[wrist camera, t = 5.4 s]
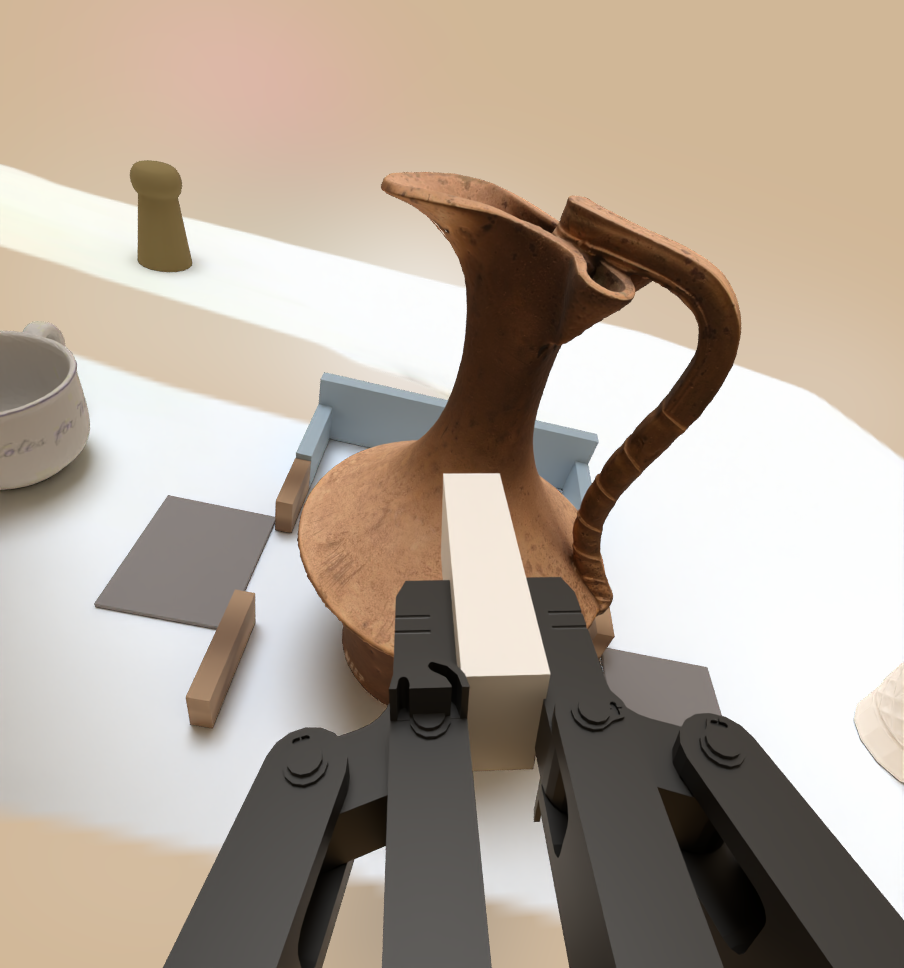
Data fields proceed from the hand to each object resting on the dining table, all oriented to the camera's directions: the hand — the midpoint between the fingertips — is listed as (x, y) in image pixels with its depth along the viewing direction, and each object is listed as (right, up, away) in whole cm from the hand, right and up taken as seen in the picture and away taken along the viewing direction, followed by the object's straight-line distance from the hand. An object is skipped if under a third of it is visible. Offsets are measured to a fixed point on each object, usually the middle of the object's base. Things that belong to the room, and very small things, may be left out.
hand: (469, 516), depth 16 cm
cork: (-36, +28, +55) cm, 71 cm away
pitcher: (-2, -10, +23) cm, 25 cm away
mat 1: (-18, -4, +23) cm, 30 cm away
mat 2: (+14, -15, +22) cm, 30 cm away
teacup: (-33, +3, +28) cm, 43 cm away
